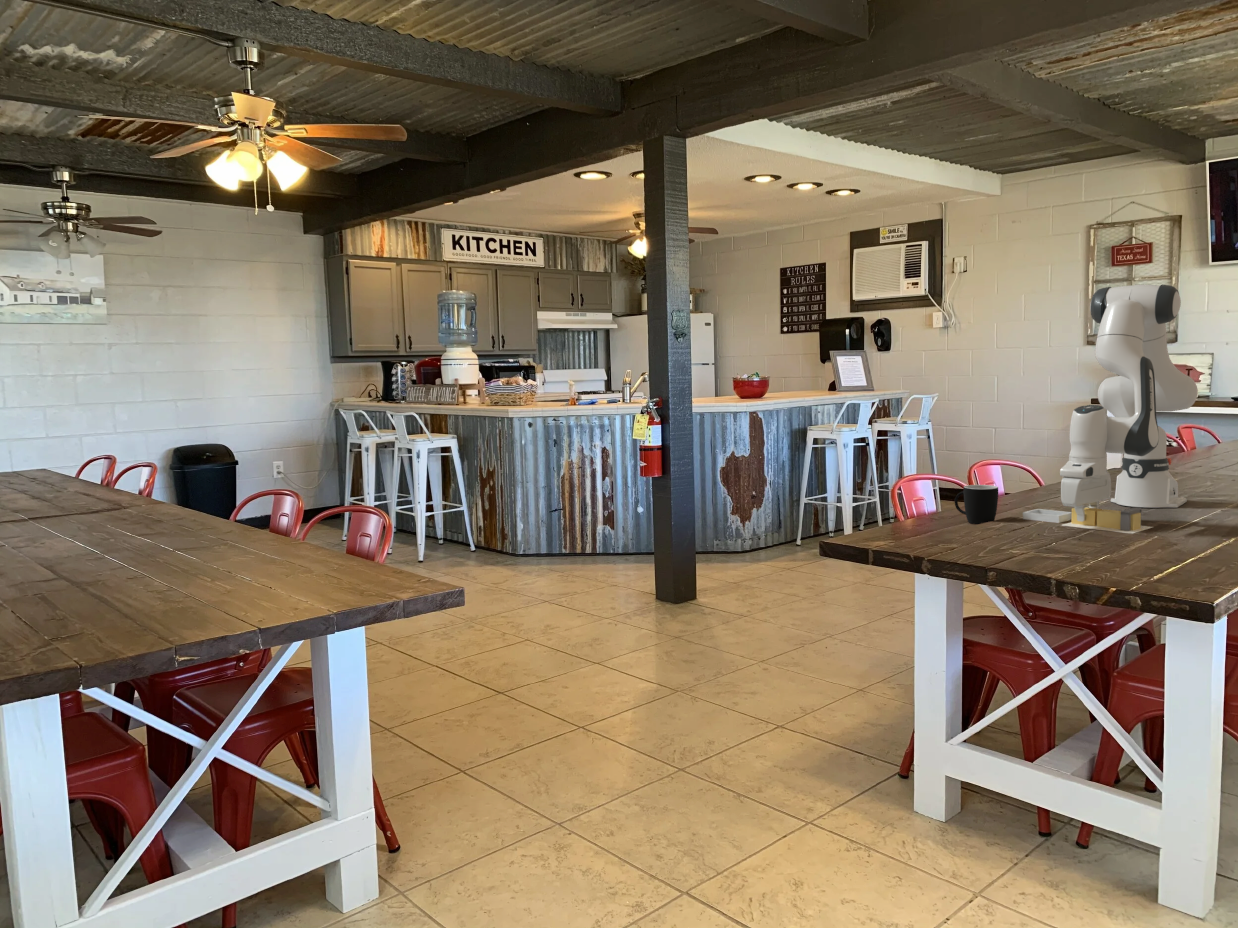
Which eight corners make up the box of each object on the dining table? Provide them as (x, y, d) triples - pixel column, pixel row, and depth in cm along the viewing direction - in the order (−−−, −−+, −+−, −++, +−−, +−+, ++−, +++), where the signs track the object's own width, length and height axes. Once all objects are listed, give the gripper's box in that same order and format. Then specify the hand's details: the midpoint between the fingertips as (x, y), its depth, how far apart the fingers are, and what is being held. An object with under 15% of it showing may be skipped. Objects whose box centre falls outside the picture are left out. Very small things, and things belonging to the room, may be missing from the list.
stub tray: (1037, 519, 257) (1037, 508, 257) (1073, 523, 249) (1073, 512, 249) (1022, 522, 252) (1022, 512, 252) (1058, 527, 245) (1058, 516, 244)
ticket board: (1082, 523, 248) (1082, 501, 248) (1153, 531, 234) (1154, 507, 234) (1060, 529, 241) (1060, 506, 241) (1132, 538, 227) (1132, 513, 226)
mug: (1003, 522, 255) (1003, 486, 254) (989, 526, 249) (989, 489, 248) (962, 518, 264) (962, 483, 262) (947, 522, 257) (947, 486, 256)
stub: (1078, 521, 245) (1079, 506, 245) (1101, 524, 240) (1102, 509, 240) (1071, 523, 243) (1071, 508, 242) (1094, 526, 238) (1094, 510, 238)
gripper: (1094, 463, 249) (1093, 513, 250) (1056, 470, 236) (1055, 523, 238) (1118, 464, 244) (1117, 515, 245) (1081, 472, 231) (1080, 526, 233)
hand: (1086, 519), depth 241 cm, fingers closed on stub, 4 cm apart
